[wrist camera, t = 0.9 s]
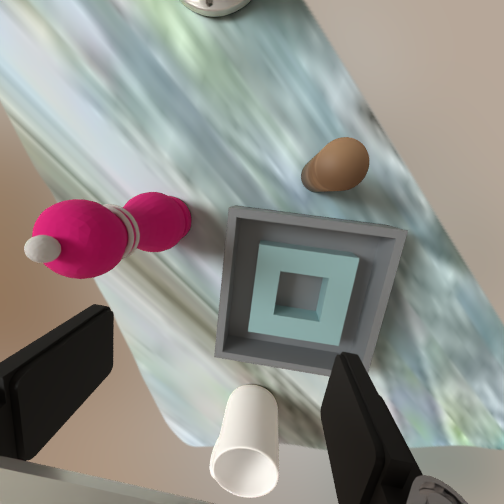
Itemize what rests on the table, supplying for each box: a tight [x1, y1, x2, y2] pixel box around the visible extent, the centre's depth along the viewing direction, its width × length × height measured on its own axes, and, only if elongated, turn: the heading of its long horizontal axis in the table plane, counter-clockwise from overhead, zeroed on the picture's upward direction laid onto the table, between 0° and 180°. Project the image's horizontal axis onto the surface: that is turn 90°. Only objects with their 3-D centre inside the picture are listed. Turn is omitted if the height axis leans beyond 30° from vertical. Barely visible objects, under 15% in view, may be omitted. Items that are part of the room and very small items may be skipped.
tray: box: [214, 206, 408, 376], centre depth 32 cm, size 20×20×5 cm
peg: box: [301, 137, 369, 192], centre depth 25 cm, size 4×4×12 cm
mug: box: [210, 384, 279, 498], centre depth 35 cm, size 12×8×10 cm
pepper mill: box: [24, 192, 191, 279], centre depth 24 cm, size 7×7×20 cm
